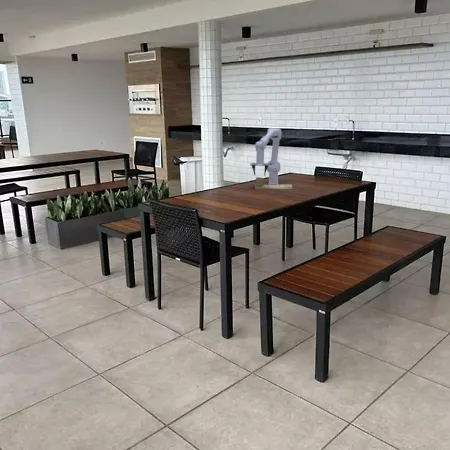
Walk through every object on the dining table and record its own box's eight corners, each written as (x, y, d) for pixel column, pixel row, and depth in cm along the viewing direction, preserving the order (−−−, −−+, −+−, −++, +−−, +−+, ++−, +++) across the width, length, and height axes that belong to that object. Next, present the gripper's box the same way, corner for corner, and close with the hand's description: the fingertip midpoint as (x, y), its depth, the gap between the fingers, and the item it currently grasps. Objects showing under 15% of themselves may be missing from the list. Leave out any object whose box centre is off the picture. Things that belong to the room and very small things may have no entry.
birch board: (255, 186, 374) (255, 184, 374) (291, 186, 371) (291, 184, 371) (255, 189, 364) (255, 187, 364) (291, 188, 362) (292, 186, 361)
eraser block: (256, 185, 372) (256, 177, 371) (262, 185, 372) (262, 177, 370) (255, 186, 365) (255, 179, 364) (262, 186, 365) (262, 178, 363)
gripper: (250, 157, 359) (250, 175, 362) (269, 157, 358) (269, 176, 360) (250, 157, 366) (250, 174, 369) (269, 157, 365) (269, 175, 367)
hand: (259, 175), depth 365 cm, fingers open, 7 cm apart
